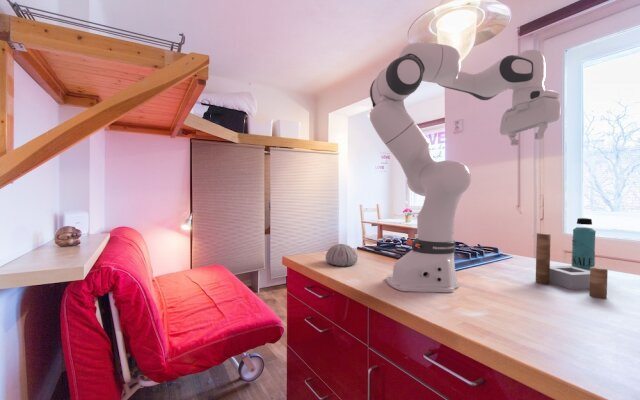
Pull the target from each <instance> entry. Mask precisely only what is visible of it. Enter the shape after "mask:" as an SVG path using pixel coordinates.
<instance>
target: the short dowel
mask: <svg viewBox="0 0 640 400" xmlns="http://www.w3.org/2000/svg"><path fill="white" fill-rule="evenodd" d="M608 270H609V269H608V268H605V267H599V266H594V267H590V289H588V290H589V292H588V293H589V296H590V297H592V298H595V299H596V298H597V299H608V272H609V271H608Z"/></svg>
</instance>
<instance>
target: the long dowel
mask: <svg viewBox="0 0 640 400" xmlns="http://www.w3.org/2000/svg"><path fill="white" fill-rule="evenodd" d="M551 239H552V237H551V233H545V232H544V233H542V232H537V233H536V244H535V245H536V251H535V253H536V254H535V256H536V257H535V283H536V284H540V285H545V286H547V285H550V282H549V280H550V266H551V241H552V240H551Z"/></svg>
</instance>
